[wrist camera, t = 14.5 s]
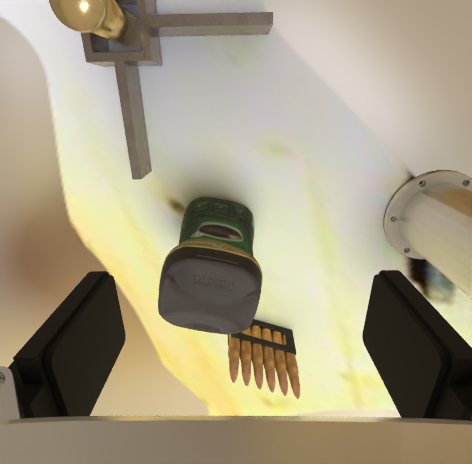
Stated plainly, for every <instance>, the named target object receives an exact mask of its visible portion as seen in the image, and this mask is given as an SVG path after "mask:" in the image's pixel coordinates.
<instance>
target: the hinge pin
mask: <svg viewBox="0 0 472 464" xmlns="http://www.w3.org/2000/svg"><path fill="white" fill-rule="evenodd" d="M49 2H50V5H51V8H52V10H53V12H54V14H55V15H56V17H57V18H58V19H59V20H60V21H61V22H62V23H63V24H64V25H65V26H67V27H69V28H71V29H73V30H75V31H78V32H81V33H91V32H93V33H95V34H97V35H99V36H101V37H104V38H106V39H108V40H110V41H112V42H114V43H117V44H119V45H121V46H123V47H125V48H128V49H135V48H138V47H139V46H140V45H141V44H142V41H141V33H140V25H139V20H138V19H137V18H136V17H135V16H133V15H132V14H131V13H130V12H128V11H127V10H126V9H125V8H123V7H122V6H121V5H120V4H119V3H117V2H116V1H115V0H49Z"/></svg>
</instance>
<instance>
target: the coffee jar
mask: <svg viewBox="0 0 472 464" xmlns="http://www.w3.org/2000/svg"><path fill="white" fill-rule="evenodd" d="M253 238H254V219H253V215H252V213H251V212H250V211H249V210H248V209H247V208H246V207H244V206H242V205H240V204H237V203H233V202H230V201H225V200H221V199H215V198H198V199H196V200H194V201H192V202H191V203H190V204H189V206H188V207H187V209H186V212H185V215H184V218H183V222H182V227H181V233H180V240H179V245H178V246H176V247H175V248H174V249H172V250H171V251H170V253H169V254H168V255H167V257H166V259H165V261H164V264H163V267H162V272H161V278H160V285H159V299H158V309H159V314H160V315H161V316H162V318H163V319H164V320H166V321H167V322H169V323H171V324H173V325H176V326H179V327H183V328H188V329H193V330H198V331H204V332H211V333H220V334H236V333H240V332H243V331H245V330H247V329H248V328H249V327H250V325H251V323H252V321H253V319H254V316H255V313H256V310H257V307H258V303H259V299H260V294H261V286H262V271H261V268H260V266H259V264H258V262H257V261H256V259H255V258H254V257H253Z"/></svg>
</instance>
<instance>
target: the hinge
mask: <svg viewBox="0 0 472 464" xmlns="http://www.w3.org/2000/svg"><path fill="white" fill-rule="evenodd" d="M115 1H116V2H117V3H119V4H137V8H138V16H139V25H140V33H141V41H142V49H143V52H109V47H108V41H107V39H106V38H104V37H101V36H99V35H97V34H95V33H93V32H91V33H81V36H82V41H83V46H84V52H85V57H86V62H88V63H92V64H96V65H100V66H104V67H110V66H115V70H116V76H117V83H118V89H119V95H120V102H121V108H122V115H123V121H124V127H125V134H126V140H127V146H128V153H129V159H130V165H131V172H132V178H133V179H142V178H143V177H145V176H146V175H147V174H148V173H149V172H151V164H150V156H149V149H148V141H147V133H146V126H145V118H144V110H143V103H142V95H141V87H140V79H139V72H138V66H159V65H162V58H161V49H160V39H159V37H161V36H207V35H253V34H269V32H270V29H271V27H272V25H273V12H261V13H217V14H173V15H157V9H156V0H115Z"/></svg>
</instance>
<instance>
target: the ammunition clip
mask: <svg viewBox="0 0 472 464" xmlns="http://www.w3.org/2000/svg"><path fill="white" fill-rule="evenodd" d="M228 345H229V350H228V356H229V364H230V376H231V379H232V382H233V383H234V382H235V381H236V378H237V375H238V365H239V357H240V360H241V366H242V376H243V380H244V383H245V385H246V386H248V384H249V381H250V376H251V360H252V364H253V369H254V376H255V381H256V384H257V387H258V388H259V389H261V387H262V382H263V364H264V368H265V373H266V379H267V383H268V386H269V389H270V391H271V392H273V391H274V388H275V369H276V372H277V375H278V380H279V385H280V388H281V390H282V393H283V394H284V395H285V396H286V394H287V390H288V382H287V373H288V376H289V379H290V383H291V387H292V390H293V393H294V395H295V396H296V398H297V399H299V397H300V384H299V377H298V367H297V362H296V358H295V355H296V349H295V344H294V338H293V332H292V330H290V329H286V328H283V327H279V326H276V325H272V324H269V323H265V322H262V321H258V320H254V319H253V321H252V323H251V325H250V327H249V328H248V329H247V330H245V331H243V332H240V333H236V334H228ZM286 370H287V373H286Z"/></svg>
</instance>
